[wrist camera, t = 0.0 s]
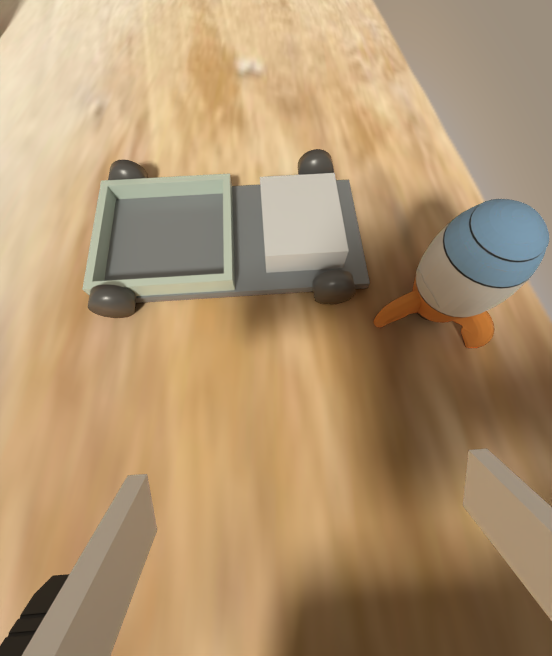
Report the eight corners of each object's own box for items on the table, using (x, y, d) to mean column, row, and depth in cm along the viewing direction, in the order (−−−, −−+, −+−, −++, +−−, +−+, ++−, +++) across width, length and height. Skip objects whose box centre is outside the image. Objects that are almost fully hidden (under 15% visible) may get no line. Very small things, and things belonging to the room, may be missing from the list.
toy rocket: (367, 348, 33) (401, 228, 20) (381, 272, 38) (415, 140, 26) (479, 372, 30) (598, 252, 18) (478, 287, 35) (567, 149, 23)
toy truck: (369, 301, 33) (381, 282, 30) (96, 319, 33) (73, 301, 29) (345, 176, 40) (352, 147, 36) (115, 189, 39) (98, 161, 35)
